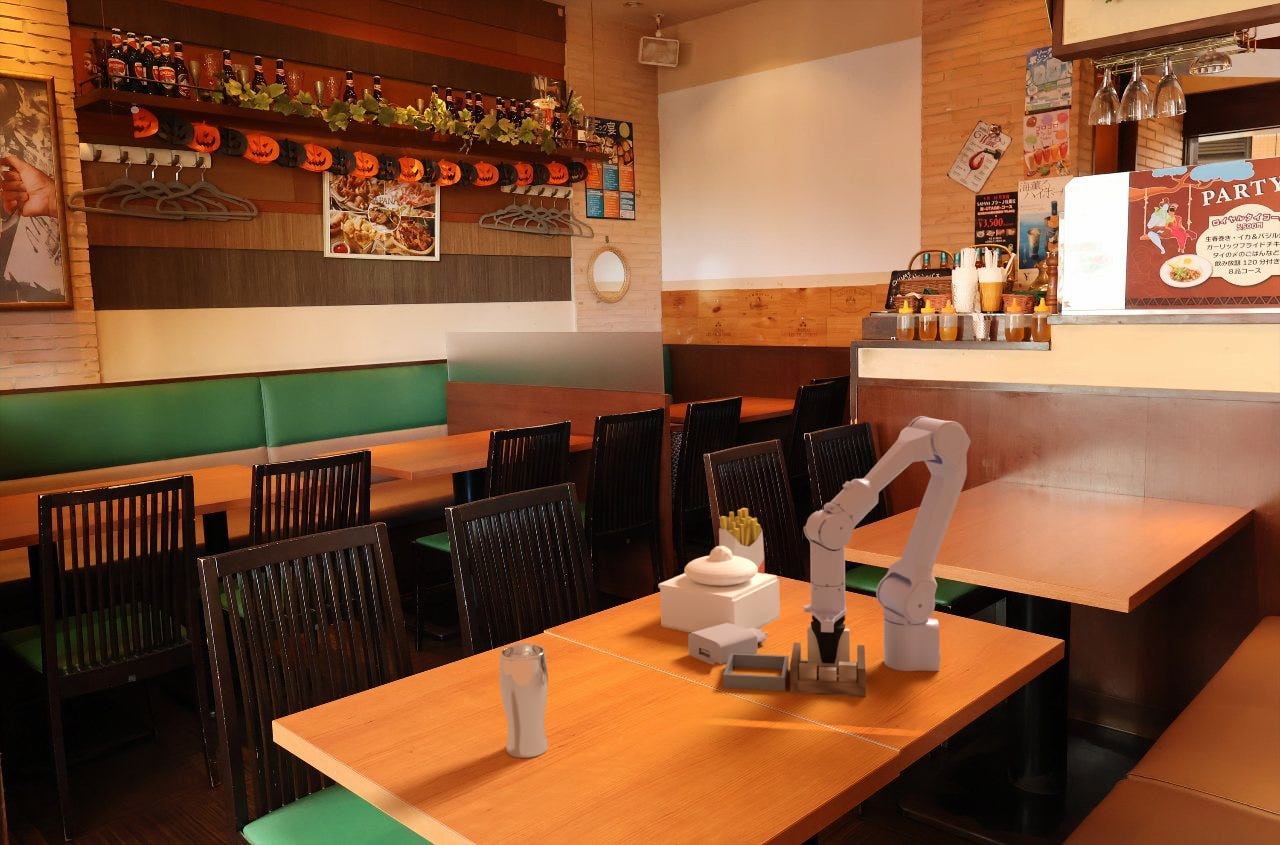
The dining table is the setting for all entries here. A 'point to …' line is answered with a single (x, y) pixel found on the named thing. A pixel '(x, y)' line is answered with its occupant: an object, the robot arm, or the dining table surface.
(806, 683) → the rack
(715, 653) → the charger
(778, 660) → the tray
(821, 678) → the offcuts
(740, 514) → the french fries container
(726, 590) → the white lidded square jar
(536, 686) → the beer glass
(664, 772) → the dining table surface
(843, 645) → the sheet
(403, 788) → the dining table surface
